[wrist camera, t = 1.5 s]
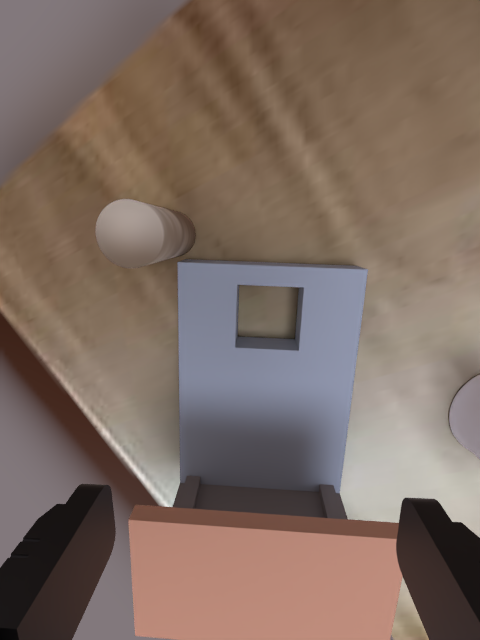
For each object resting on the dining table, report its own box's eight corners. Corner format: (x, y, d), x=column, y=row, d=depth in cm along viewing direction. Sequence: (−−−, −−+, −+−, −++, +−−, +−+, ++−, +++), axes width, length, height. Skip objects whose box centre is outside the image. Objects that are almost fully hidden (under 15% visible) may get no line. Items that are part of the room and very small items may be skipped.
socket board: (186, 259, 28) (114, 285, 14) (356, 265, 28) (456, 299, 14) (187, 466, 33) (135, 635, 19) (331, 475, 33) (386, 657, 19)
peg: (151, 210, 28) (93, 198, 18) (195, 211, 27) (161, 199, 18) (152, 255, 28) (98, 267, 19) (195, 257, 28) (162, 269, 19)
